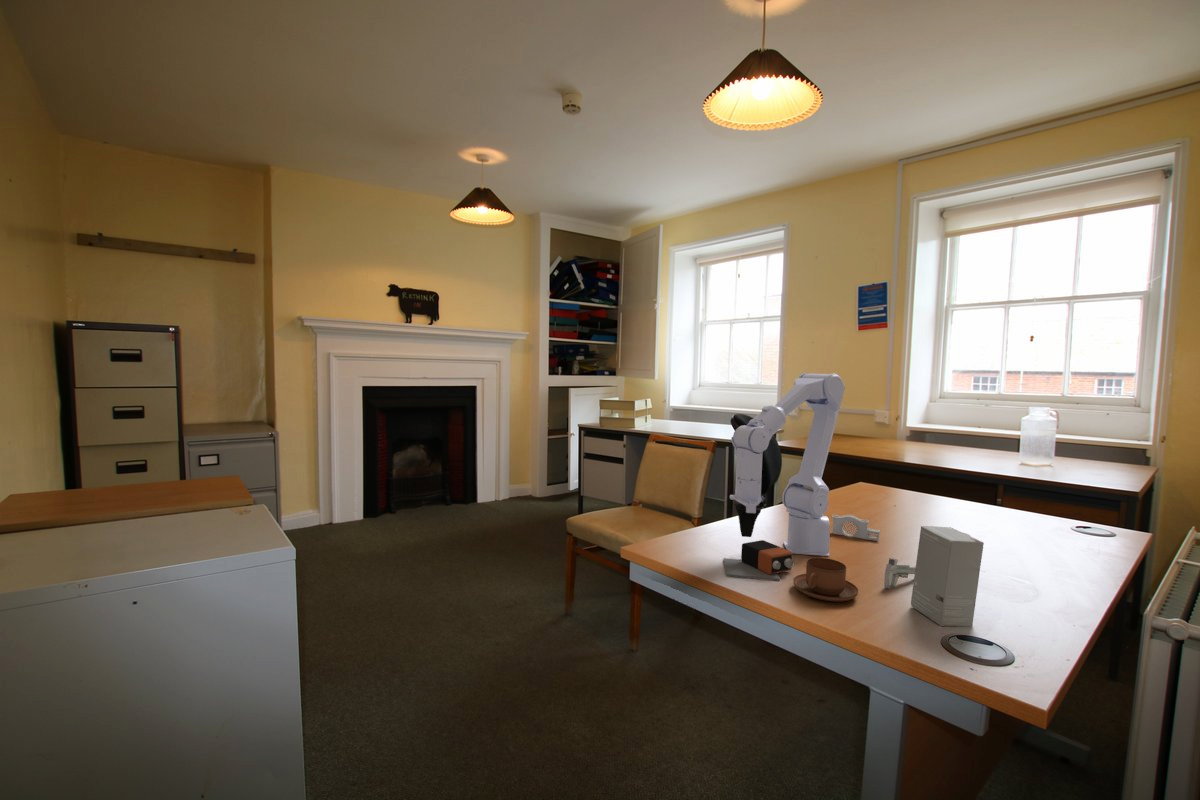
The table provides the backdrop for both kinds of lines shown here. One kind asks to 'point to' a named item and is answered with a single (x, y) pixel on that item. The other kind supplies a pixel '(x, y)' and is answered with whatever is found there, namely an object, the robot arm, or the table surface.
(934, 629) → the table surface
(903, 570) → the caliper
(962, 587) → the skincare box
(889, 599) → the table surface
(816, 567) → the cup and saucer
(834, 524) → the garden wall model
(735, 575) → the mat
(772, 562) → the battery
